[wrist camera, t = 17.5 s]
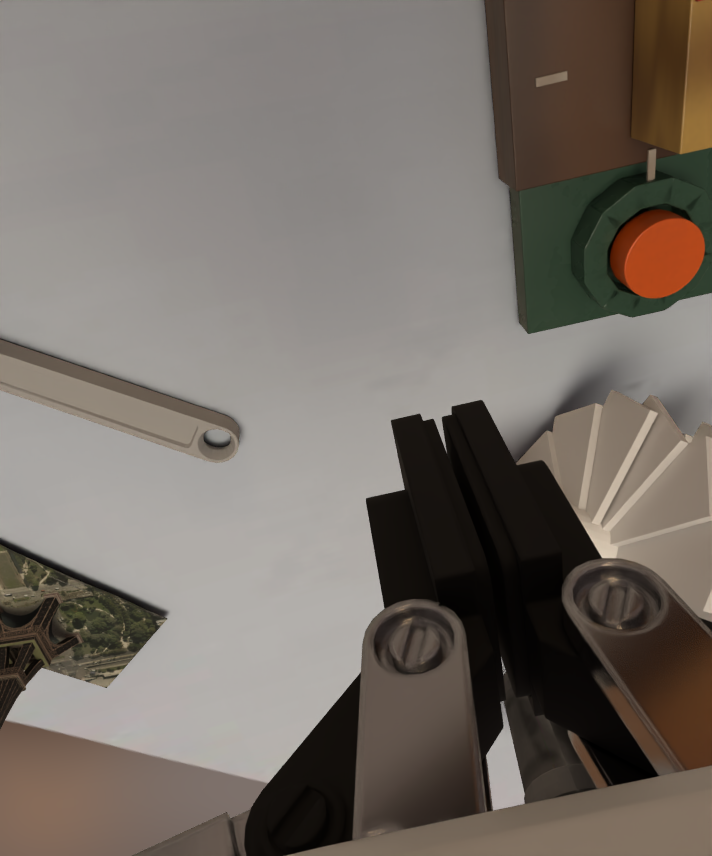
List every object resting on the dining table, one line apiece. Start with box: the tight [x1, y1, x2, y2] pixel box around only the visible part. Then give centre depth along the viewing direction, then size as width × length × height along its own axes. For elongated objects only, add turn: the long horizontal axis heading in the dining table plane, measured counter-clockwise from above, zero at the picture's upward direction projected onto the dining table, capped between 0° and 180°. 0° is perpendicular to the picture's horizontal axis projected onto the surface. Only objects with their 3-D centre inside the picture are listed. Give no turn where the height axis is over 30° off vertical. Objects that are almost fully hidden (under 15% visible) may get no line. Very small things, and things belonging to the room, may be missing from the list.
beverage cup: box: [503, 672, 597, 804], centre depth 48 cm, size 7×7×20 cm
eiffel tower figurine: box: [0, 545, 167, 729], centre depth 41 cm, size 15×10×13 cm
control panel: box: [485, 0, 678, 191], centre depth 30 cm, size 13×11×3 cm
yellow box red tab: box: [631, 0, 712, 154], centre depth 27 cm, size 6×2×5 cm, turn 11°
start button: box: [610, 209, 705, 298], centre depth 33 cm, size 4×4×2 cm
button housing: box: [509, 148, 712, 334], centre depth 35 cm, size 12×8×4 cm, turn 102°
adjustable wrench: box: [0, 340, 240, 463], centre depth 36 cm, size 25×6×2 cm, turn 59°
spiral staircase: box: [516, 390, 712, 622], centre depth 39 cm, size 18×18×25 cm
